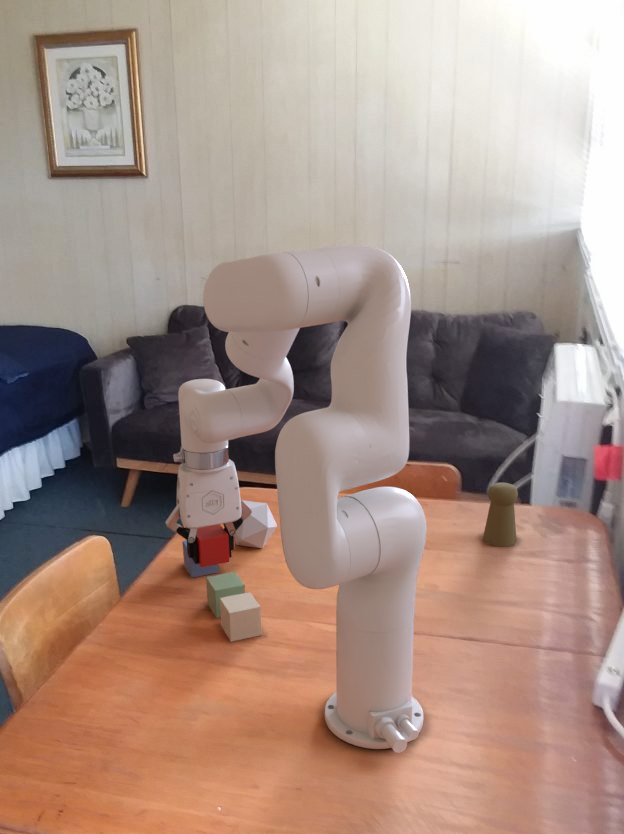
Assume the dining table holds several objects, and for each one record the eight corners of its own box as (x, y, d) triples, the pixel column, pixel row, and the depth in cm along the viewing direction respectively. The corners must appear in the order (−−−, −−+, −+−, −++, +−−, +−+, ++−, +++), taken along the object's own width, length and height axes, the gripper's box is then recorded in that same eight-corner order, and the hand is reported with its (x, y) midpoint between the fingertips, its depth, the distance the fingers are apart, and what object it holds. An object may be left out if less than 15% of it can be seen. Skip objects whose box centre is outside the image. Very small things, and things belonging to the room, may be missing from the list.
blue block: (218, 572, 149) (217, 547, 147) (191, 577, 147) (189, 552, 146) (210, 560, 153) (209, 536, 152) (184, 565, 152) (182, 540, 150)
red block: (229, 562, 140) (228, 535, 139) (201, 567, 139) (199, 540, 137) (220, 550, 145) (219, 523, 143) (193, 555, 143) (191, 528, 142)
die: (227, 537, 164) (212, 512, 156) (262, 509, 166) (249, 482, 158) (253, 565, 159) (239, 540, 151) (289, 535, 161) (277, 509, 153)
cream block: (261, 635, 129) (260, 606, 127) (230, 642, 127) (229, 613, 126) (251, 619, 133) (249, 591, 131) (221, 626, 132) (219, 597, 130)
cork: (482, 545, 155) (485, 489, 151) (483, 531, 160) (486, 478, 156) (516, 548, 153) (521, 492, 149) (516, 534, 158) (520, 480, 155)
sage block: (246, 612, 135) (244, 584, 134) (216, 618, 134) (214, 590, 132) (236, 598, 140) (235, 571, 138) (207, 604, 138) (205, 576, 137)
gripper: (159, 471, 130) (167, 576, 136) (263, 456, 135) (266, 558, 141) (148, 456, 136) (156, 557, 143) (247, 442, 141) (251, 540, 148)
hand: (211, 556), depth 142 cm, fingers closed on red block, 5 cm apart
